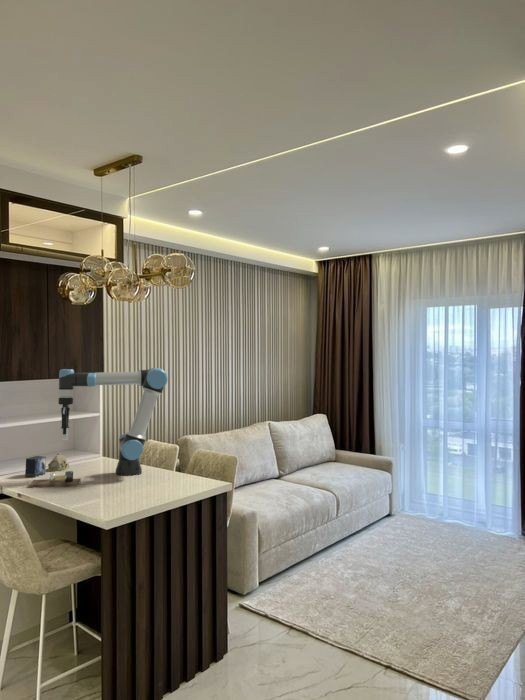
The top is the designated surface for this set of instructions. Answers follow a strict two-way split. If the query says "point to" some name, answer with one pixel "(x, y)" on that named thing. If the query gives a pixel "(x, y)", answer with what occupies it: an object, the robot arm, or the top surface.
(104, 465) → the top surface
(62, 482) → the dial board
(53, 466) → the ceramic model
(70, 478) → the lever
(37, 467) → the small box
